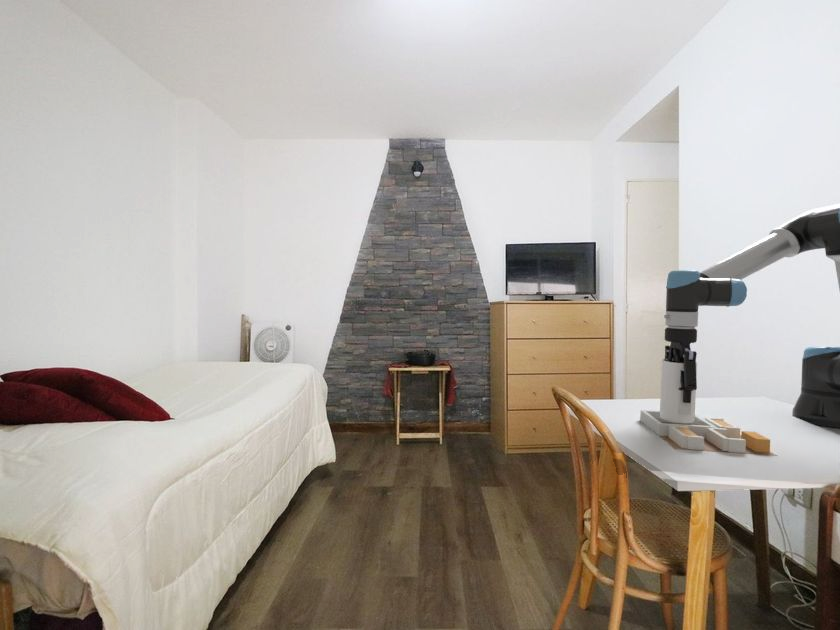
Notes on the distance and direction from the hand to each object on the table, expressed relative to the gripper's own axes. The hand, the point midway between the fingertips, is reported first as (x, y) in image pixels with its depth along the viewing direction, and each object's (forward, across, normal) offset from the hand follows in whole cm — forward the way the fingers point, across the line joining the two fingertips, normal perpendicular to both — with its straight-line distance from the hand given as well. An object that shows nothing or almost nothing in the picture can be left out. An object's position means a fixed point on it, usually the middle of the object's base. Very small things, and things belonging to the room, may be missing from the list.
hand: (677, 409), depth 119 cm
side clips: (+5, +7, +4) cm, 9 cm away
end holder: (+5, 0, 0) cm, 5 cm away
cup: (+3, 0, 0) cm, 3 cm away
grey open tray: (+5, +12, +7) cm, 15 cm away
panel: (+6, +5, +4) cm, 9 cm away
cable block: (+5, +12, +13) cm, 18 cm away
